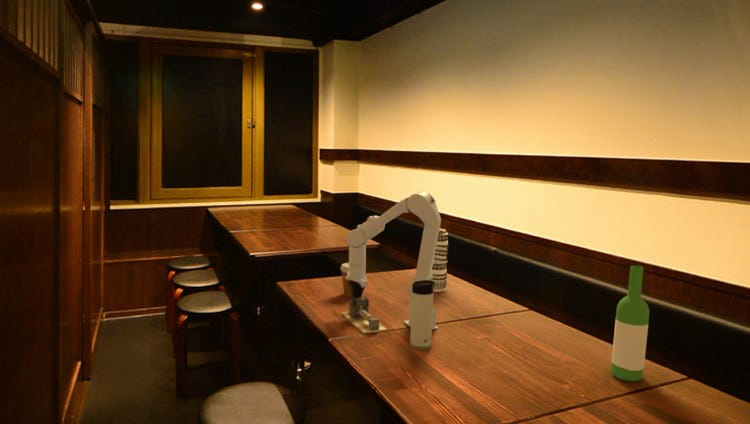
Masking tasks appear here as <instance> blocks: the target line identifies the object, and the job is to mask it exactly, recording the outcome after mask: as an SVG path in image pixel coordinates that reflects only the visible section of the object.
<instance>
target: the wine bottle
mask: <svg viewBox="0 0 750 424" xmlns="http://www.w3.org/2000/svg"><path fill="white" fill-rule="evenodd" d="M629 271H630V272H629V280H628V281H629V282H628V290H627V295H626V296H624V297H622V298H621V299H620V300H619V302H618V304H617V306H616V312H615V321H614V322H615V323H614V333H613V334H614V335H613V343H612V352H611V354H612V355H611V356H612V357H611V366H610V370H611V373H612V375H613V376H614V377H615V378H617V379H619V380H622V381H626V382H630V383H631V382H638V381H641V380H642V379H643V376H644V369H645V368H644V367H645V361H646V352H647V350H646V349H647V339H648V331H649V319H650V308H649V305H648V303H647V302H646V301H645V300H644V299H643V298H642V288H643V287H642V286H643V275H644V267H643V266H641V265H637V264H636V265H635V264H634V265H631V266H630V270H629Z"/></svg>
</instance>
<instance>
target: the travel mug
mask: <svg viewBox="0 0 750 424" xmlns="http://www.w3.org/2000/svg"><path fill="white" fill-rule="evenodd" d="M433 284H434V285H435V281H430V280H421V281H416V282H414V283H413V285H412V288H413V289H412V306H411V327H410V334H409V335H410V337H409V338H410V340H409V341H410V342H409V346H410V347H411V348H412V349H415V350H418V351H420V350H421V351H424V350H429V349H431V347H432V331H433V330H432V312H433V306H434V291H433Z"/></svg>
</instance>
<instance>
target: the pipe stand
mask: <svg viewBox="0 0 750 424" xmlns="http://www.w3.org/2000/svg"><path fill="white" fill-rule="evenodd" d="M356 313H359V314H360V315H361V316H362V317H358V318H352V317H351V316H350V301H349V302H348V311H343V312H341V315H342V316H344V318H345V319H347V320H348V321H349V322H350V323H351V324H352V325H353V326H354V327H355V328H356V329H358V330H359V332H361V333H362V334H372V333H379V332H386V331H387V327H385V326H383V325H382V324H381V323H380V318H378V317H374V316H373V315H372V314H370V313H369V312H368V313H367V312H366V311H365V310H363V309H362V307H357V311H356Z"/></svg>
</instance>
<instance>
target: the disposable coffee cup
mask: <svg viewBox="0 0 750 424" xmlns="http://www.w3.org/2000/svg"><path fill="white" fill-rule="evenodd" d="M340 271H341V278H342V287H343V295H344V296H345V297H347V298H348V297H349V298H352V294H351V290H350V287H349V285H348V283H347V282H348V281H351V280H347V279H346V278H345V277H346V276H347V271H349V262H345V263H342V264H341V266H340Z"/></svg>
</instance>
